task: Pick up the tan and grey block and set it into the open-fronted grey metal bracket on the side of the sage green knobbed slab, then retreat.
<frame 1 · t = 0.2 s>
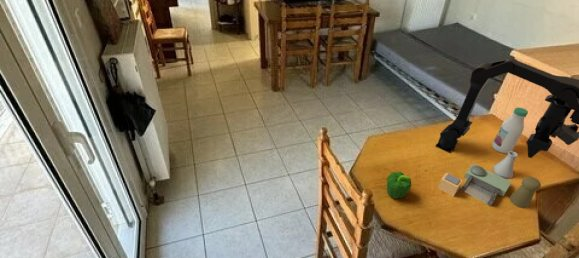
hand: (532, 151, 114), 14 cm above the table, fingers open, 9 cm apart
tan and grey block: (447, 189, 118), on the table
bell pepper: (395, 193, 117), on the table
sage green knobbed slab: (487, 178, 120), on the table
milk bottle: (501, 148, 137), on the table
flask: (502, 172, 125), on the table
olive pepper mill: (519, 202, 114), on the table
chute bracket: (478, 192, 117), on the table
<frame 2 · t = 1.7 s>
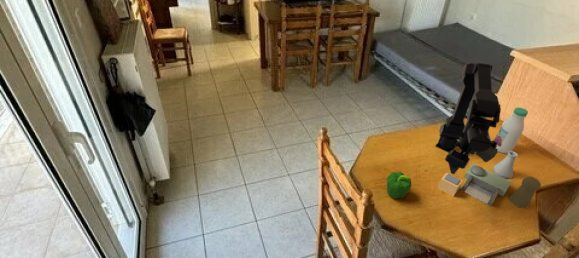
hand: (457, 167, 112), 11 cm above the table, fingers open, 9 cm apart
nothing on the table moved.
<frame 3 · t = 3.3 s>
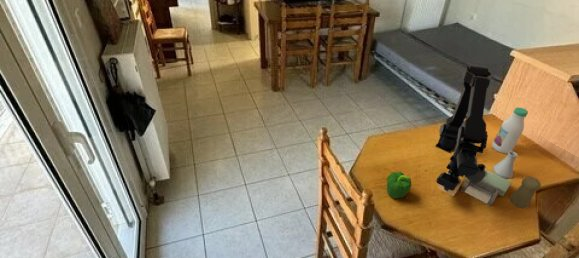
hand: (448, 187, 118), 1 cm above the table, fingers closed on tan and grey block, 4 cm apart
tan and grey block: (447, 188, 118), on the table, touching gripper
everything else where it was.
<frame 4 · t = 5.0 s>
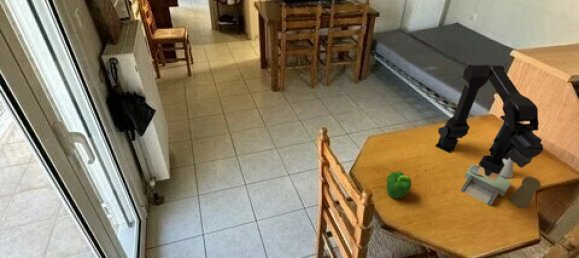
hand: (489, 171, 110), 11 cm above the table, fingers closed on tan and grey block, 4 cm apart
tan and grey block: (488, 174, 111), point 10 cm above the table, touching gripper
everything else where it was.
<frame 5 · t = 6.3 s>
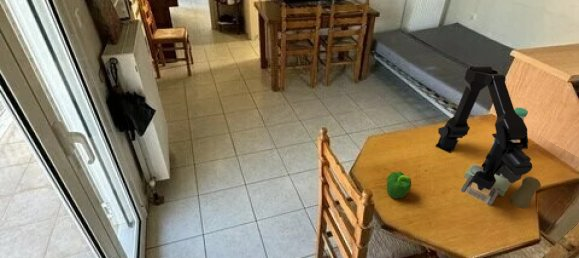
hand: (482, 186, 115), 4 cm above the table, fingers closed on tan and grey block, 4 cm apart
tan and grey block: (481, 188, 115), point 3 cm above the table, touching gripper
everything else where it was.
when the fingers open (3 cm above the table, at t = 7.0 s): tan and grey block drops 2 cm, resting on chute bracket.
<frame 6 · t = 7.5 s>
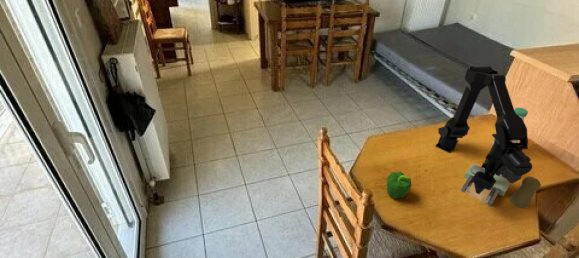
hand: (482, 186, 115), 3 cm above the table, fingers open, 9 cm apart
tan and grey block: (478, 192, 117), resting on chute bracket
everything else where it was.
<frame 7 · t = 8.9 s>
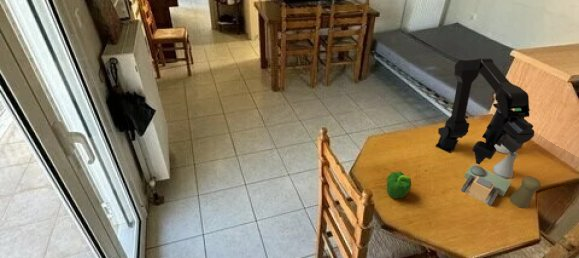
hand: (482, 157, 115), 11 cm above the table, fingers open, 9 cm apart
nothing on the table moved.
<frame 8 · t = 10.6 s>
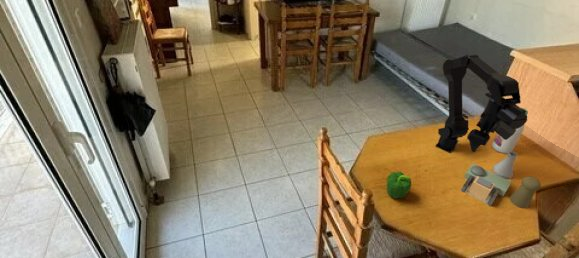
hand: (477, 146, 120), 12 cm above the table, fingers open, 9 cm apart
nothing on the table moved.
at the end: tan and grey block inside the target area on the chute bracket (0.5 cm from its centre), point 0.2 cm above the chute bracket's base; tan and grey block tilted 0°; the gripper is holding nothing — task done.
